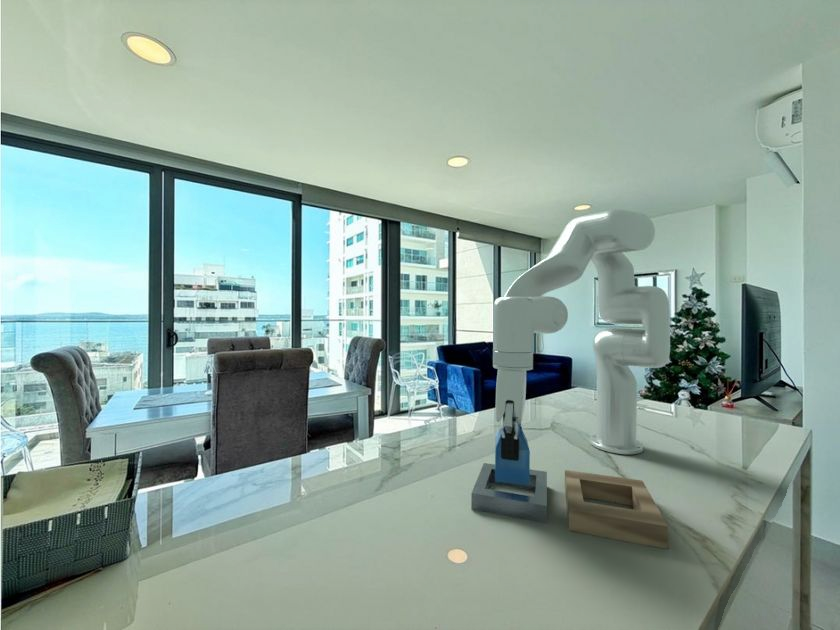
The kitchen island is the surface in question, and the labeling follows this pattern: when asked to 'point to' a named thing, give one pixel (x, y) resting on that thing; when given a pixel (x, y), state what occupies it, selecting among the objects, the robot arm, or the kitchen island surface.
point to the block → (511, 496)
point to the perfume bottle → (513, 469)
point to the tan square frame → (614, 509)
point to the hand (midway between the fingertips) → (511, 451)
